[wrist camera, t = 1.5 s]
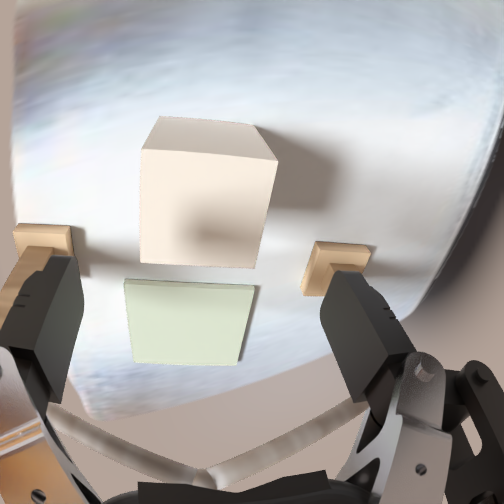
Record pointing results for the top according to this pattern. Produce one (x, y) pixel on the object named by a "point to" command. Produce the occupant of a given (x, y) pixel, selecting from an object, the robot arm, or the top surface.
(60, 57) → the top surface
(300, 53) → the top surface
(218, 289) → the mat
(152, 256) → the cream block
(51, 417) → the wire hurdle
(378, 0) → the top surface
